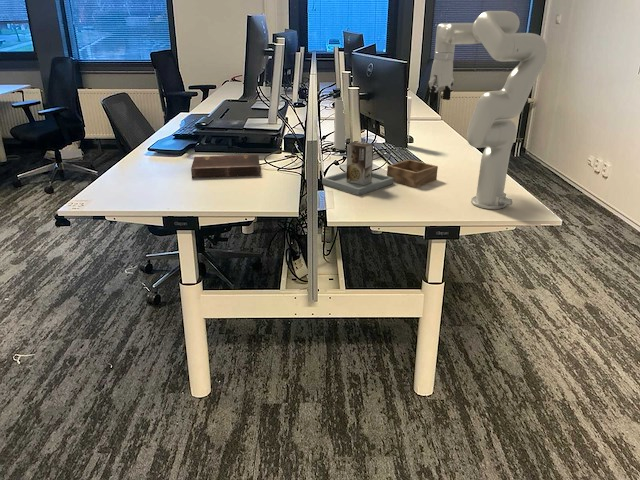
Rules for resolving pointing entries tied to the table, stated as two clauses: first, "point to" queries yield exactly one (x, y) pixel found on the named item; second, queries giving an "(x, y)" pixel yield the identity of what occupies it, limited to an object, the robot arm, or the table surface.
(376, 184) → the slate tray
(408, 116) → the cylindrical container
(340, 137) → the cylinder vase
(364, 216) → the table surface
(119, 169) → the table surface
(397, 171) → the walnut sleeve
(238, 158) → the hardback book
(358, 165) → the coffee box
